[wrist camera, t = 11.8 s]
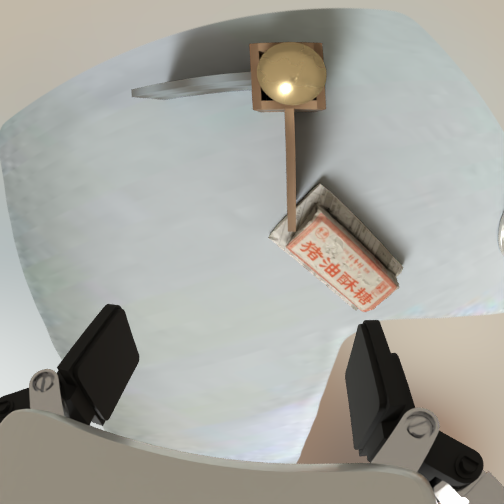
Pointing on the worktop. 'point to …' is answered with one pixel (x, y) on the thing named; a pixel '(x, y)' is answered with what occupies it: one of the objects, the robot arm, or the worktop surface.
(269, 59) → the hinge pin
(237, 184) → the worktop surface
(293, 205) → the hinge
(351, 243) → the packaged product
